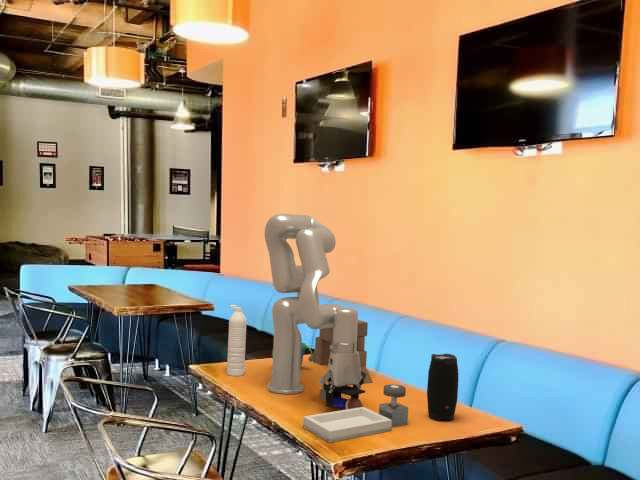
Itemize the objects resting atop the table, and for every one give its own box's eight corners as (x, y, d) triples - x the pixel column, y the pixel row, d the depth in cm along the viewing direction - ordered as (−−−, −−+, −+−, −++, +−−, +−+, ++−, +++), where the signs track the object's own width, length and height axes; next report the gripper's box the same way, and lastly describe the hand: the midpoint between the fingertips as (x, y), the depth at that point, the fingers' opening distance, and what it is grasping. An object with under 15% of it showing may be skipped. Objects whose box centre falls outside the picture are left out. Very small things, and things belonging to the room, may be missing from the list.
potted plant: (312, 367, 238) (313, 342, 238) (310, 374, 228) (311, 347, 227) (273, 365, 239) (274, 339, 239) (269, 371, 229) (270, 344, 228)
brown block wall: (303, 360, 250) (306, 306, 249) (320, 358, 255) (323, 305, 254) (359, 384, 216) (362, 322, 215) (378, 382, 221) (381, 321, 220)
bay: (302, 427, 168) (303, 416, 168) (362, 416, 180) (363, 406, 180) (329, 442, 157) (329, 431, 157) (391, 430, 169) (391, 420, 169)
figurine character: (317, 409, 189) (351, 417, 178) (317, 385, 190) (350, 391, 179) (333, 406, 194) (367, 413, 183) (332, 382, 194) (366, 387, 183)
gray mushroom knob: (378, 409, 177) (379, 384, 176) (394, 406, 180) (396, 382, 180) (392, 415, 171) (393, 390, 171) (409, 412, 175) (410, 388, 175)
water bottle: (247, 375, 221) (250, 307, 221) (231, 377, 218) (234, 308, 217) (236, 369, 229) (239, 304, 228) (221, 371, 225) (223, 305, 224)
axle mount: (378, 420, 177) (379, 404, 176) (394, 418, 180) (394, 401, 180) (391, 427, 172) (392, 410, 171) (407, 424, 175) (408, 407, 175)
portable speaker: (456, 423, 177) (459, 360, 177) (424, 420, 179) (428, 357, 179) (456, 415, 185) (459, 354, 185) (426, 411, 188) (429, 351, 187)
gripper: (328, 352, 178) (325, 409, 178) (373, 347, 187) (371, 402, 188) (314, 347, 184) (312, 403, 184) (359, 343, 194) (357, 396, 194)
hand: (342, 402), depth 186 cm, fingers open, 9 cm apart
